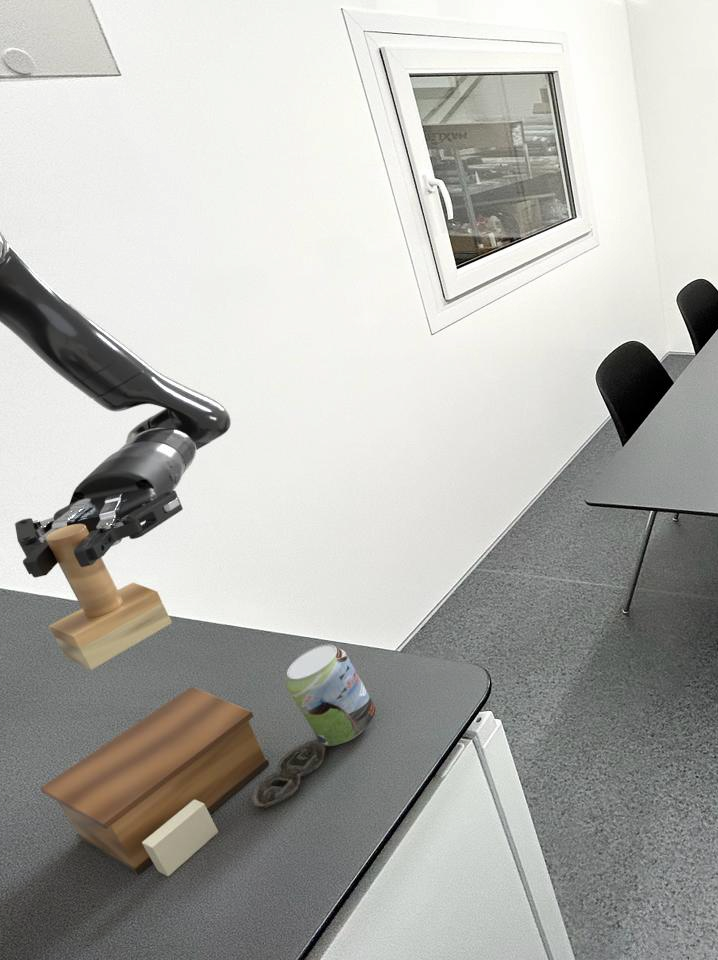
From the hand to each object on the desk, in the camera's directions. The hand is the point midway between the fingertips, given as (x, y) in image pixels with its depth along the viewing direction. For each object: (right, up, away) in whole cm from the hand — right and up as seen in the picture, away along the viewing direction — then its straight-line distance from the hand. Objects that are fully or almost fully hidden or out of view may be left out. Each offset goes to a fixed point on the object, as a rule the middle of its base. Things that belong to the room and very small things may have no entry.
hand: (59, 563), depth 62 cm
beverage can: (+17, -26, +15) cm, 35 cm away
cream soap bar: (+10, -29, +2) cm, 31 cm away
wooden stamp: (-1, -11, +7) cm, 13 cm away
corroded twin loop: (+15, -29, +10) cm, 34 cm away
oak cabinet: (+4, -29, +8) cm, 31 cm away
